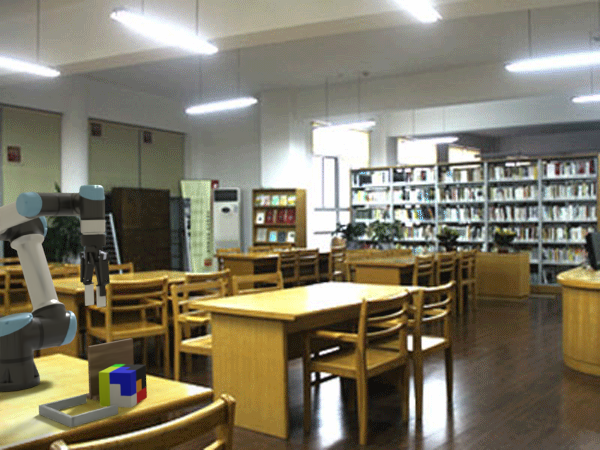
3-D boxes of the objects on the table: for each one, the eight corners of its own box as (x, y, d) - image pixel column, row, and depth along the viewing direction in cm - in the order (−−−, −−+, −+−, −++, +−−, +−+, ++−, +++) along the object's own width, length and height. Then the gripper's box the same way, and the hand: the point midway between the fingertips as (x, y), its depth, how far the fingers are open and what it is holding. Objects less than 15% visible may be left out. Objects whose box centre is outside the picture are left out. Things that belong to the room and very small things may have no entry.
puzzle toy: (131, 407, 178) (130, 373, 178) (99, 406, 180) (98, 372, 180) (146, 397, 188) (145, 364, 188) (116, 396, 190) (115, 364, 190)
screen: (85, 397, 189) (83, 345, 189) (128, 386, 200) (126, 337, 200) (95, 401, 185) (93, 347, 185) (138, 389, 196) (137, 339, 196)
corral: (39, 414, 174) (38, 405, 174) (85, 402, 184) (84, 393, 184) (70, 427, 162) (70, 417, 162) (118, 413, 172) (117, 404, 172)
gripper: (120, 233, 193) (122, 306, 193) (88, 233, 206) (90, 302, 206) (98, 234, 187) (100, 309, 188) (67, 234, 200) (69, 305, 201)
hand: (95, 305), depth 197 cm, fingers open, 6 cm apart
